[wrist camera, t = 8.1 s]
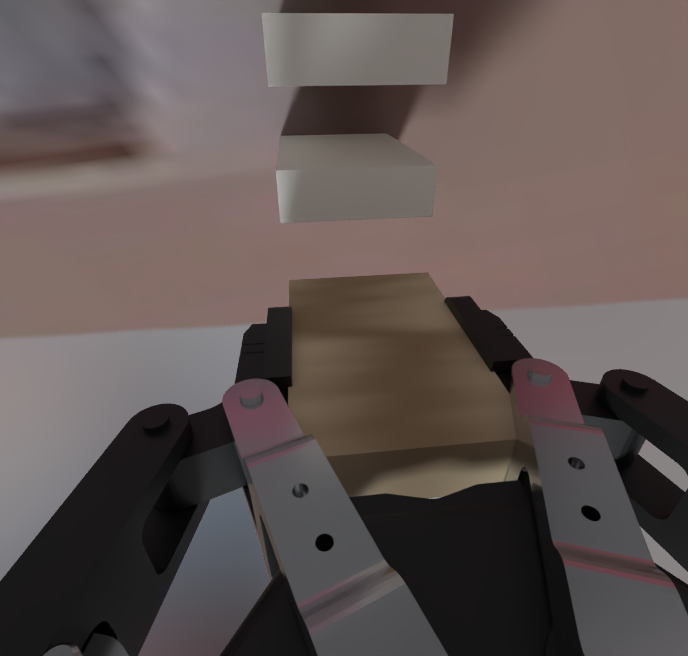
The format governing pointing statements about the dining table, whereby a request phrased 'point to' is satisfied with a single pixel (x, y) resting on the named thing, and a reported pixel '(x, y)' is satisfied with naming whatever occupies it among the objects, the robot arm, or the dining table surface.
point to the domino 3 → (395, 387)
